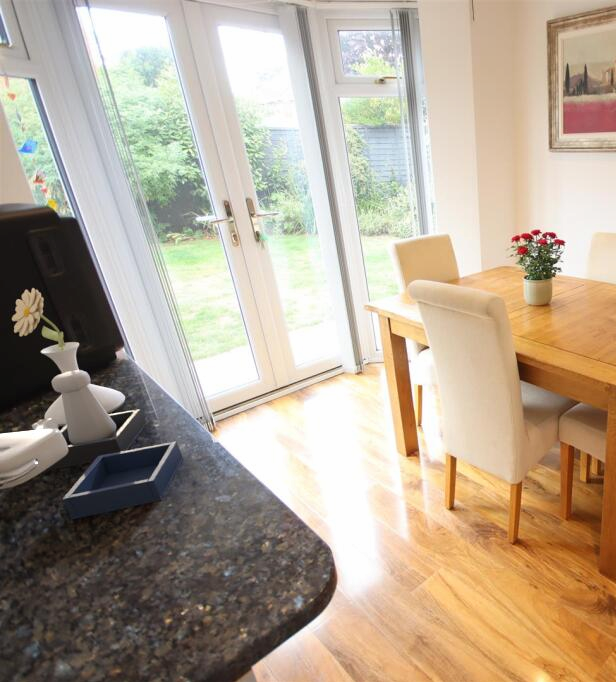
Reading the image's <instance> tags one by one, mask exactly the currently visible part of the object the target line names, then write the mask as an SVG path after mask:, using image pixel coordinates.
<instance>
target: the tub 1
mask: <svg viewBox="0 0 616 682" xmlns="http://www.w3.org/2000/svg"><path fill="white" fill-rule="evenodd" d="M108 415H109V416H110V417H111V419H112V420H113V421H114V423H115V424H116V434H115V435H114V436H113V437H112V438H108V439H102V440H96V441H91V442H85V443H80V444H72V443H71V442H70V441H69V436H68V430H67V424H66V425H65V426H62V428H61V429H59V430H60V432H61V433H62V435H63V437H64V438H65V440H66V443H67V445H68V453H67V455H66V456H64V457H63V458H62V459H60V460H59V461H58V462H56V463H55V464H53V465H52V466H50V467H49V468H47V469H46V470H44V471H43V472H48V471H49V472H50V471H54V470H60V469H64V468H69V467H75V466H80V465H86V464H90V463H91V464H92V463H93V462H94V461H95V459H96V458H97V457H98V456H101V455H106V454H112V453H117V452H122V451H128V450H130V448H131V447H132V445H133V444H134V442H135V441H136V440H137V439H138V437H139V436H140V434H141V433H142V432H143V431H144V429H145V428H146V427H147V423H146V420H145V417H144V415H143V413H142V410H141V408H138V409H133V410H126V411H121V412H114V413H110V414H108Z"/></svg>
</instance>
